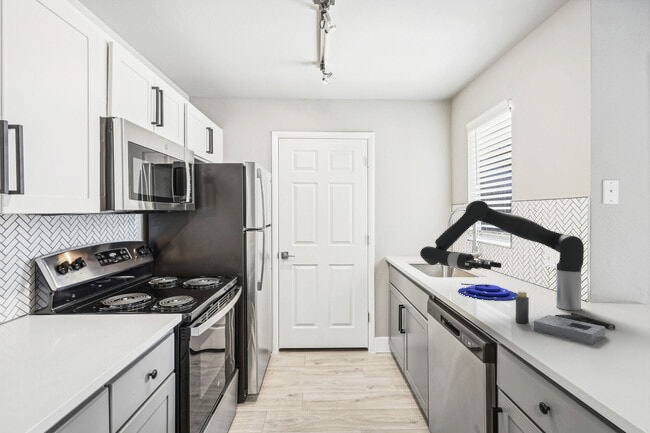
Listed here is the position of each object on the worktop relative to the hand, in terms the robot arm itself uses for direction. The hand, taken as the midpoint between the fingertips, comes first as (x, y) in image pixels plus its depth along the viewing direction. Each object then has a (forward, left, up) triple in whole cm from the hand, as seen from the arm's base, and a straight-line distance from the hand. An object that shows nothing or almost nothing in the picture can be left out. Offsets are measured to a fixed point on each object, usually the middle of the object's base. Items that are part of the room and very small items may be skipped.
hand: (496, 266), depth 147 cm
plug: (0, +10, -21) cm, 23 cm away
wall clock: (-37, -24, -22) cm, 49 cm away
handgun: (-19, +25, -22) cm, 38 cm away
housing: (0, +26, -21) cm, 34 cm away
